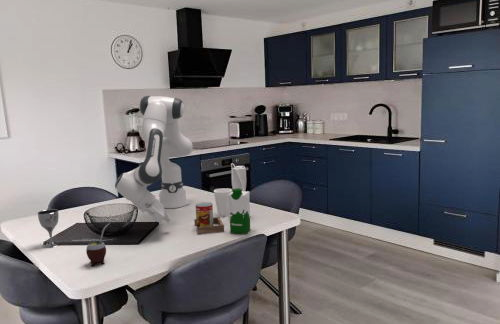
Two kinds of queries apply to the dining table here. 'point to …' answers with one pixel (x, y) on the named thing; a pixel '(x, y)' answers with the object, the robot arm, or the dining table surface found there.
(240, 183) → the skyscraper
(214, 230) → the wooden tray
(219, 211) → the foam cup
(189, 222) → the dining table surface
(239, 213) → the milk carton
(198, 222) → the canned food
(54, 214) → the wine glass
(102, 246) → the mate gourd
